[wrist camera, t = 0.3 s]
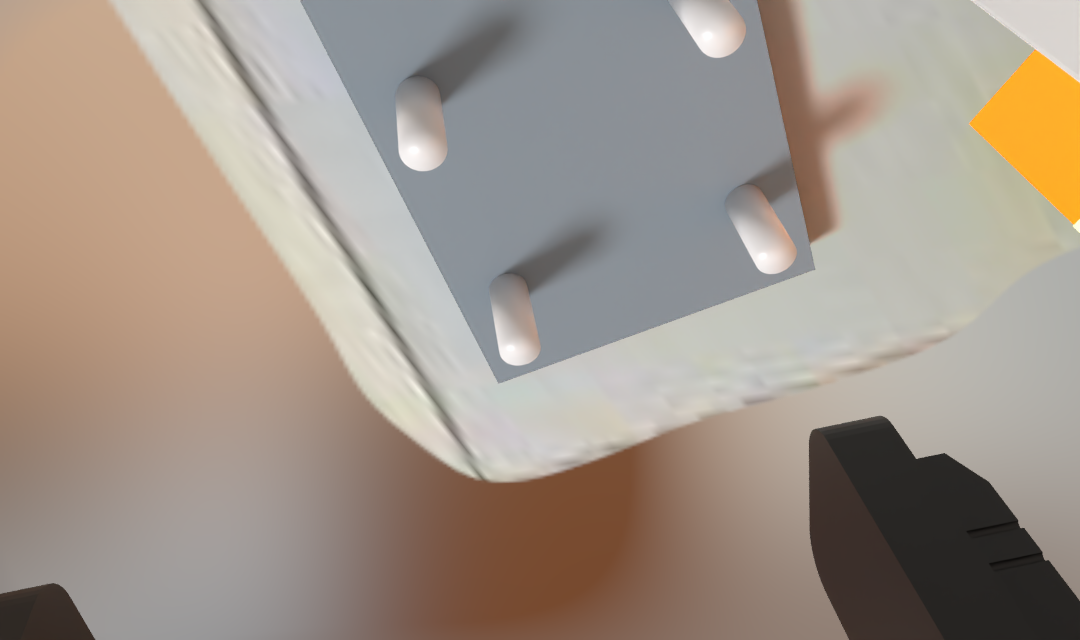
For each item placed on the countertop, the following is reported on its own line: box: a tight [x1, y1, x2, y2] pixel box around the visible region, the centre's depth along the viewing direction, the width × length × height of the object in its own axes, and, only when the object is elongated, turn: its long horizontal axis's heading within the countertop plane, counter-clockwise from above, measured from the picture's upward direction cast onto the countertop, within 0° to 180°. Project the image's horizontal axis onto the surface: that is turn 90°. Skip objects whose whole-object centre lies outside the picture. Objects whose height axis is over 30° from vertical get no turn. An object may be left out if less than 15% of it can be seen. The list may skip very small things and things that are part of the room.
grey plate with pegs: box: [301, 0, 815, 383], centre depth 28 cm, size 14×11×4 cm
